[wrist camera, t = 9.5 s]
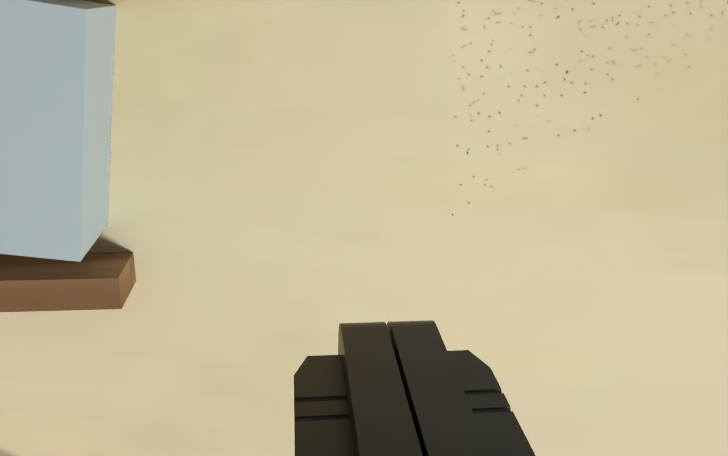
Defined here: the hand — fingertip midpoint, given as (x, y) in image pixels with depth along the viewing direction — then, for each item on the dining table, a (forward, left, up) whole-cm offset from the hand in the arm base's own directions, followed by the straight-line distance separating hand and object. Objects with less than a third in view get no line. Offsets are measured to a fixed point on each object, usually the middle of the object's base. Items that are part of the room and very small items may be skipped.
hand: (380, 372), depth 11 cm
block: (0, -9, -22) cm, 24 cm away
